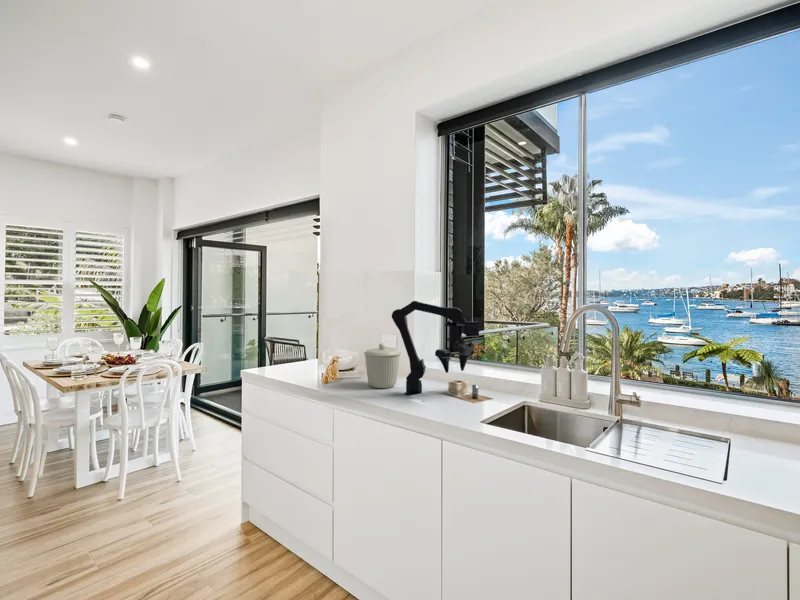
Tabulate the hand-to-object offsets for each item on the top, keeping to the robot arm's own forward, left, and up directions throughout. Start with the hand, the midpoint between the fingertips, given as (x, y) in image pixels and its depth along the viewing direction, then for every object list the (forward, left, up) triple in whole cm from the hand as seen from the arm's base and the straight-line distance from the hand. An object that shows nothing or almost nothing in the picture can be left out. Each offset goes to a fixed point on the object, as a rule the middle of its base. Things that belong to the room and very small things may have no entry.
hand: (454, 371), depth 186 cm
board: (0, -7, -11) cm, 13 cm away
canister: (-15, +35, -11) cm, 40 cm away
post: (0, -12, -9) cm, 15 cm away
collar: (0, -2, -9) cm, 9 cm away
